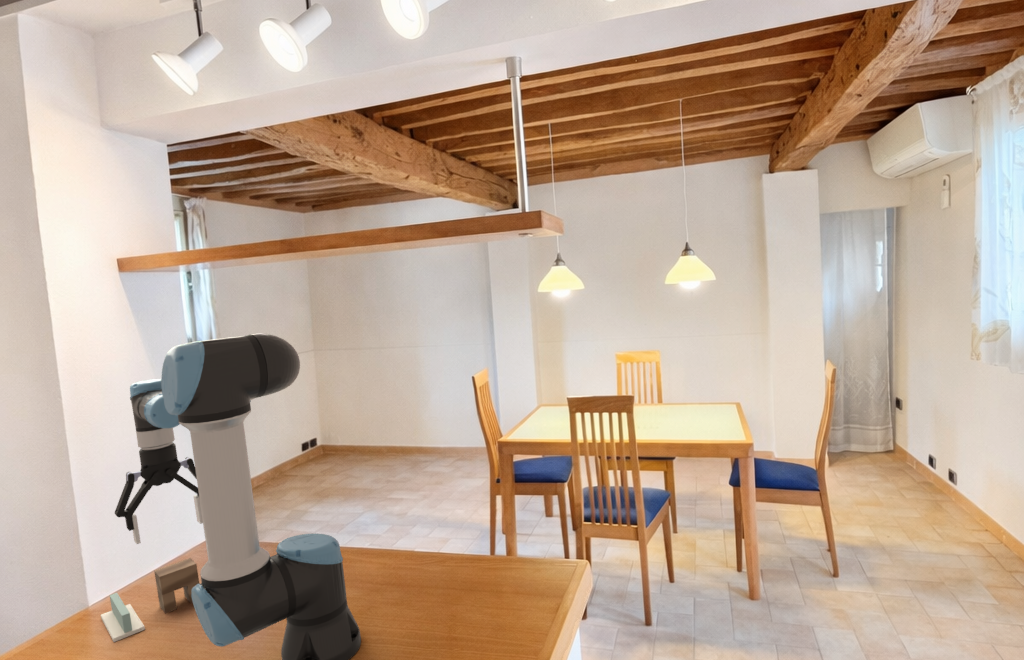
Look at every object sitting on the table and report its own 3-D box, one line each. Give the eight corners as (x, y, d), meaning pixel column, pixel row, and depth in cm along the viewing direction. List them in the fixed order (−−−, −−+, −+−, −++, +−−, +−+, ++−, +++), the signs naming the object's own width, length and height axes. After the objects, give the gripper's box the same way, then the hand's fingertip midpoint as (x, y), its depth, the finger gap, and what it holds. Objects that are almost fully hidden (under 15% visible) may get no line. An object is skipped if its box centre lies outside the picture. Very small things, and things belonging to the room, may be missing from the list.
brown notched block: (201, 599, 149) (196, 563, 148) (165, 613, 144) (159, 576, 143) (195, 592, 153) (190, 557, 152) (159, 606, 147) (154, 570, 146)
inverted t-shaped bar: (144, 629, 137) (141, 609, 137) (113, 642, 133) (110, 621, 133) (130, 606, 148) (127, 587, 148) (101, 617, 144) (97, 598, 144)
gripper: (208, 430, 156) (219, 510, 158) (91, 457, 139) (105, 546, 141) (217, 434, 150) (229, 517, 152) (97, 462, 133) (112, 555, 135)
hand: (170, 531), depth 147 cm, fingers open, 13 cm apart
